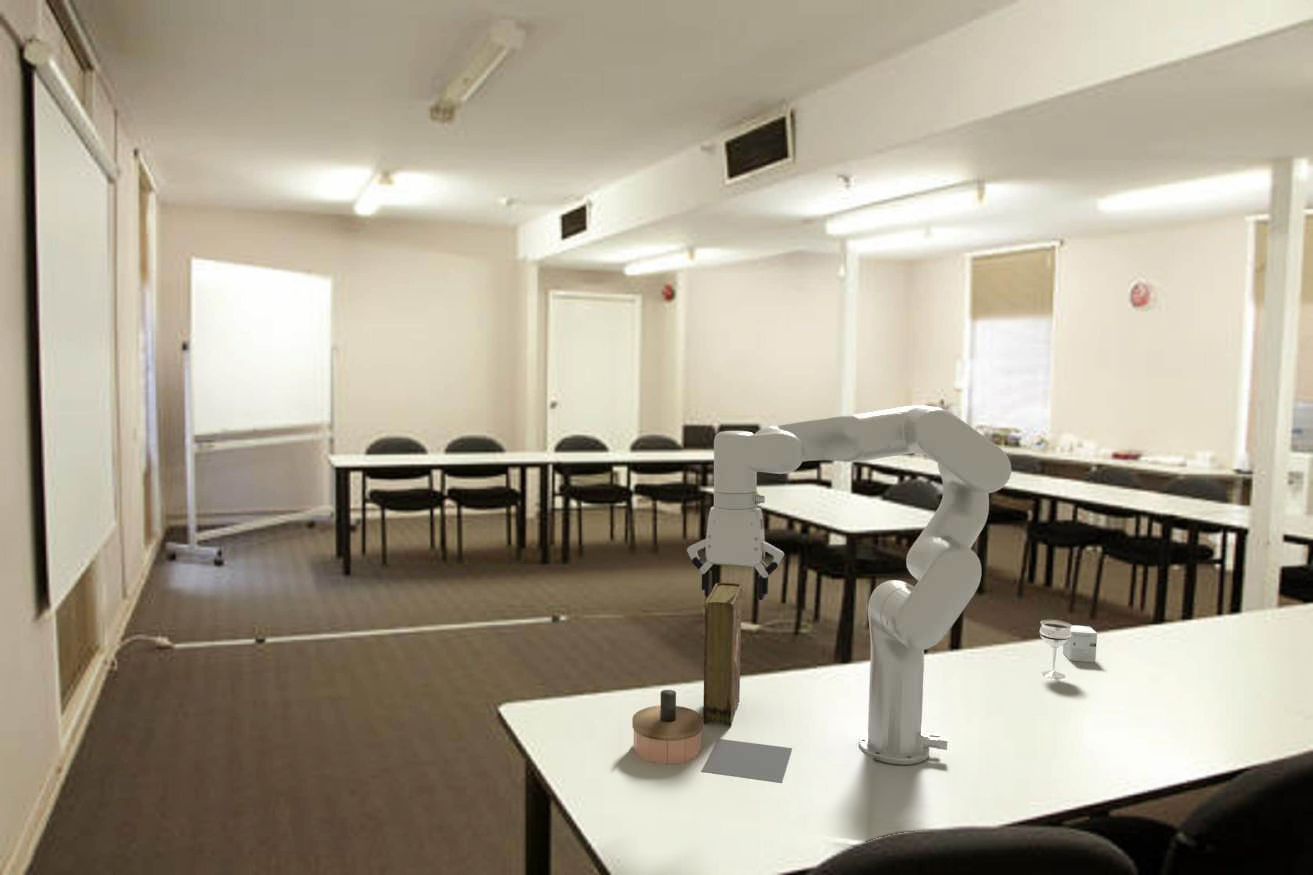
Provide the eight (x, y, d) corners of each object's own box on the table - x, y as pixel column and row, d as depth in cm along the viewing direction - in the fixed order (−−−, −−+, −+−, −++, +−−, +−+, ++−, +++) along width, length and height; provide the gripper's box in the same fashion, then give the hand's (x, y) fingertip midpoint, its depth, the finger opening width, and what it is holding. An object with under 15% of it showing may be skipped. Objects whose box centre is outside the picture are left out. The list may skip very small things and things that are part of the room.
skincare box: (1069, 660, 216) (1071, 631, 215) (1062, 652, 222) (1063, 624, 221) (1096, 662, 215) (1097, 632, 214) (1088, 654, 221) (1089, 625, 220)
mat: (792, 751, 164) (792, 748, 164) (781, 785, 150) (781, 782, 150) (717, 741, 167) (717, 738, 167) (701, 774, 154) (701, 771, 154)
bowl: (706, 742, 167) (706, 716, 166) (691, 770, 155) (691, 742, 155) (645, 734, 170) (645, 709, 170) (626, 761, 159) (626, 734, 158)
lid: (710, 715, 167) (710, 683, 166) (694, 744, 154) (695, 709, 154) (643, 708, 170) (644, 676, 170) (623, 735, 158) (623, 701, 157)
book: (714, 696, 190) (716, 581, 188) (740, 698, 189) (742, 583, 187) (703, 727, 174) (705, 602, 172) (730, 729, 173) (733, 604, 171)
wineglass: (1074, 679, 202) (1077, 628, 201) (1044, 679, 202) (1047, 628, 201) (1061, 669, 209) (1064, 619, 208) (1032, 669, 209) (1035, 619, 208)
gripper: (787, 499, 158) (786, 594, 159) (692, 496, 162) (692, 587, 164) (781, 506, 151) (780, 605, 152) (682, 502, 155) (682, 598, 157)
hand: (734, 596), depth 158 cm, fingers open, 9 cm apart
